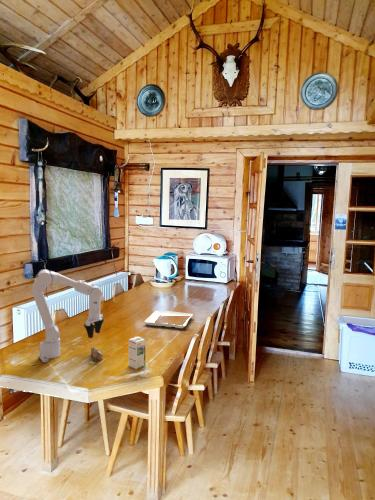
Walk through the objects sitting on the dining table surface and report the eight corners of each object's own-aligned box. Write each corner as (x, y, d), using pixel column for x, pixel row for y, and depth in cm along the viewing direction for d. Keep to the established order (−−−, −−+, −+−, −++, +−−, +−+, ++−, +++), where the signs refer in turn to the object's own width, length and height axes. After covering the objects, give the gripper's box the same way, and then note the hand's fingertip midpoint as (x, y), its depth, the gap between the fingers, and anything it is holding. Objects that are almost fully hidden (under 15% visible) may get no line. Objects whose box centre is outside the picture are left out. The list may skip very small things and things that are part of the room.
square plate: (155, 315, 263) (155, 309, 262) (193, 318, 257) (193, 313, 257) (143, 326, 236) (143, 320, 236) (185, 331, 231) (185, 325, 230)
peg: (97, 363, 175) (97, 354, 175) (87, 355, 185) (88, 346, 184) (105, 361, 178) (105, 352, 177) (96, 353, 187) (96, 344, 187)
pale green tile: (90, 361, 178) (90, 361, 178) (95, 362, 177) (95, 362, 177) (87, 363, 176) (87, 362, 176) (92, 364, 175) (92, 363, 175)
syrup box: (136, 372, 171) (136, 342, 170) (128, 367, 175) (128, 338, 174) (145, 368, 176) (146, 339, 174) (137, 364, 180) (137, 335, 178)
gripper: (95, 314, 180) (94, 340, 182) (107, 306, 194) (107, 331, 196) (81, 312, 182) (81, 339, 184) (95, 305, 196) (95, 330, 198)
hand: (94, 335), depth 190 cm, fingers open, 7 cm apart
